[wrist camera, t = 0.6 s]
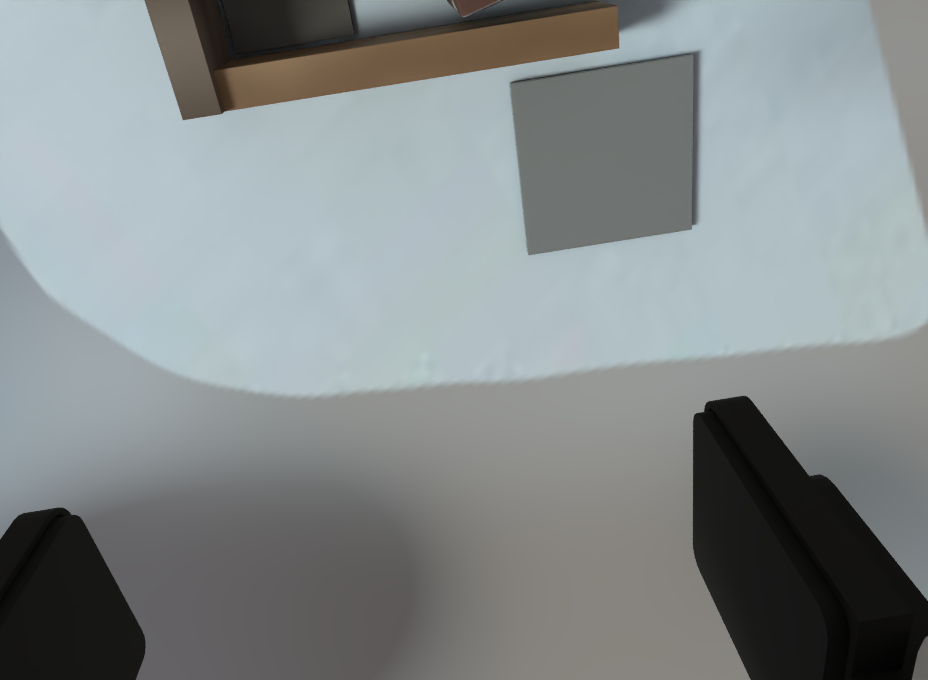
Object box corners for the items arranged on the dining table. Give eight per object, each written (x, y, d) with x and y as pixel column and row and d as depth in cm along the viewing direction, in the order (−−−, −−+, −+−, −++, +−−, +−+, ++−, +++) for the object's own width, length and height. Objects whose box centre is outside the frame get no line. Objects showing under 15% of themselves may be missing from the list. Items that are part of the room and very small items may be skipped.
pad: (509, 83, 31) (510, 84, 31) (690, 53, 31) (693, 54, 31) (527, 252, 35) (528, 255, 35) (688, 226, 35) (691, 229, 35)
